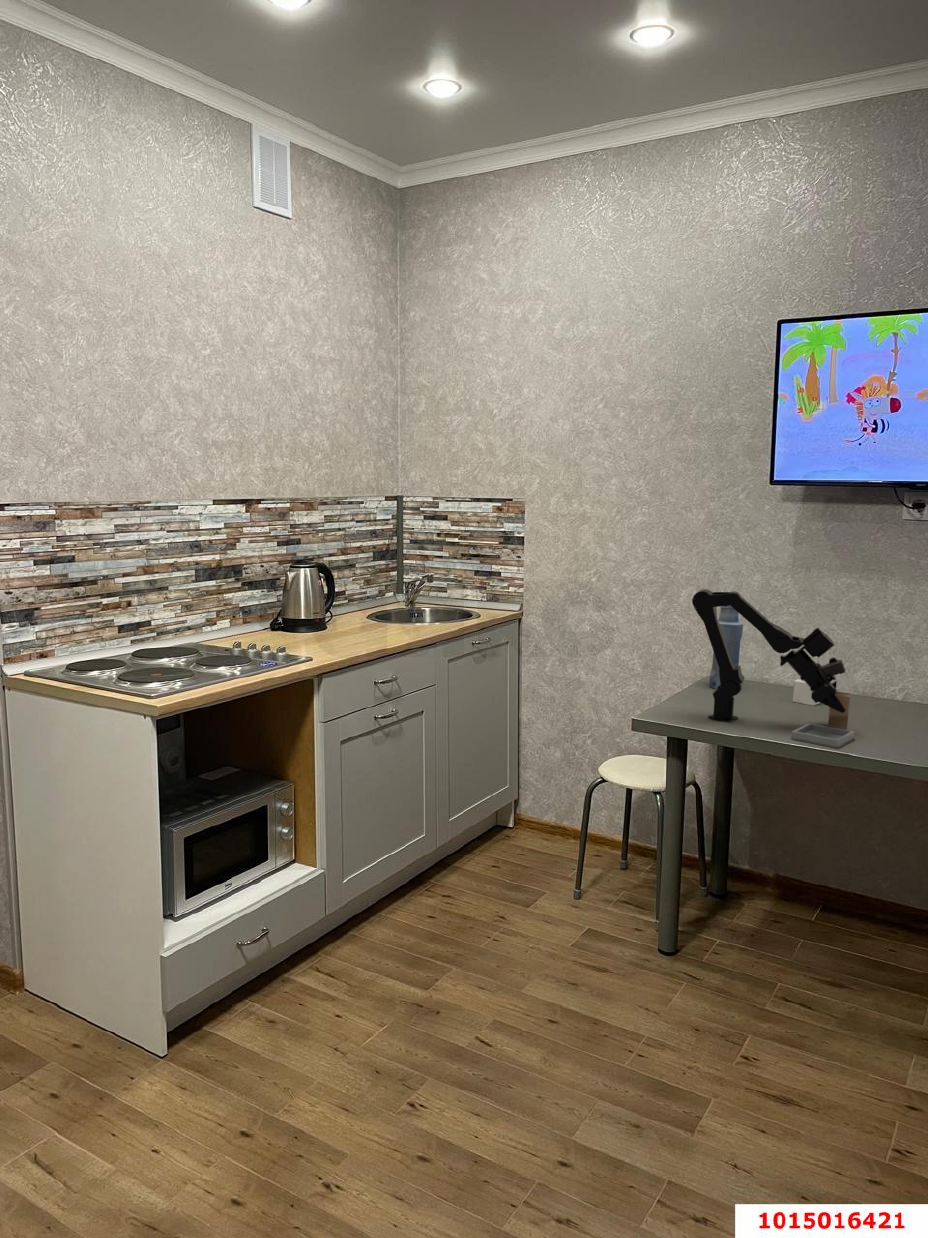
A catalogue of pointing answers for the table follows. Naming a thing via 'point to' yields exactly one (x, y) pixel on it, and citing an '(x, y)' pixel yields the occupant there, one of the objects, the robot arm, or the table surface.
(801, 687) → the medicine bottle
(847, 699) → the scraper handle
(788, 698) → the table surface
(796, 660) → the robot arm
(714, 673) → the bottle
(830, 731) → the tray
